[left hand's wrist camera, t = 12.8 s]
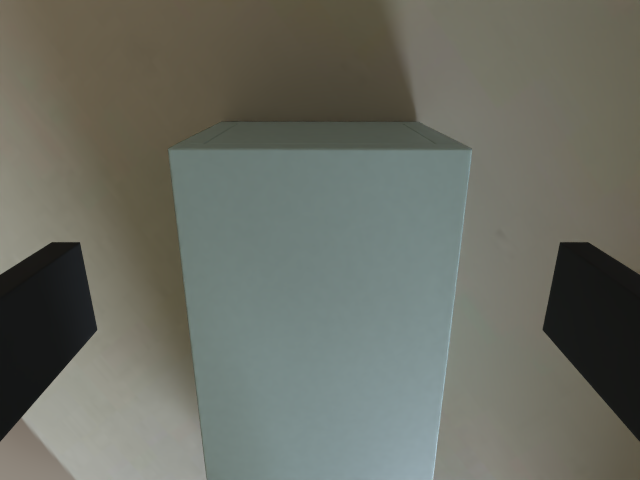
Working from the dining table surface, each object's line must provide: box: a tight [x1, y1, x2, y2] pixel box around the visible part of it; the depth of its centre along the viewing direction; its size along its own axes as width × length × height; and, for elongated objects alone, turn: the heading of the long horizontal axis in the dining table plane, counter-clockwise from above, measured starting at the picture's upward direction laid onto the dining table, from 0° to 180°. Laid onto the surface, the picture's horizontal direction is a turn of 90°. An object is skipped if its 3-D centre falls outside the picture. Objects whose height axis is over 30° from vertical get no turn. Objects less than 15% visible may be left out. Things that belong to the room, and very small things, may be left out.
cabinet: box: [168, 122, 472, 480], centre depth 24 cm, size 19×11×9 cm, turn 0°
